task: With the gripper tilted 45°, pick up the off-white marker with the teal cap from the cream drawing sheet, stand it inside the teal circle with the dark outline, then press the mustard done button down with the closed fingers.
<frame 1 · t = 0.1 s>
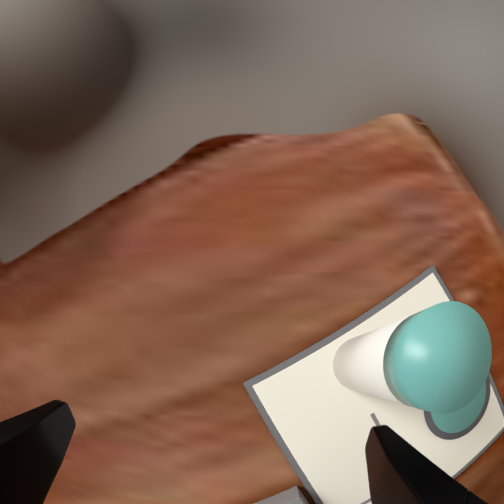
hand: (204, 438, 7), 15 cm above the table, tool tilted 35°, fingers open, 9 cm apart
marker: (358, 363, 21), resting on drawing board
drawing board: (401, 417, 19), on the table
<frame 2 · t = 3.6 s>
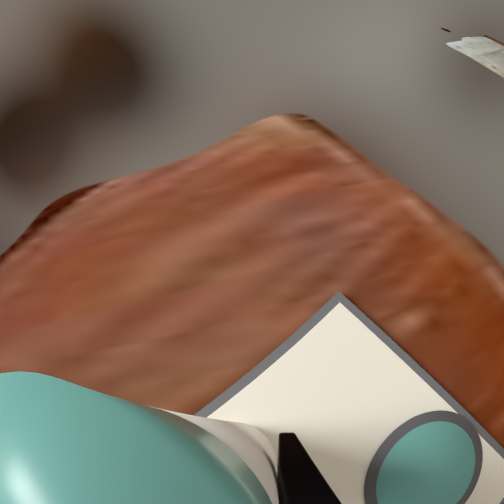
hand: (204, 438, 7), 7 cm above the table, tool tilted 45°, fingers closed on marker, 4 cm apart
marker: (233, 460, 12), point 1 cm above the table, touching drawing board, gripper
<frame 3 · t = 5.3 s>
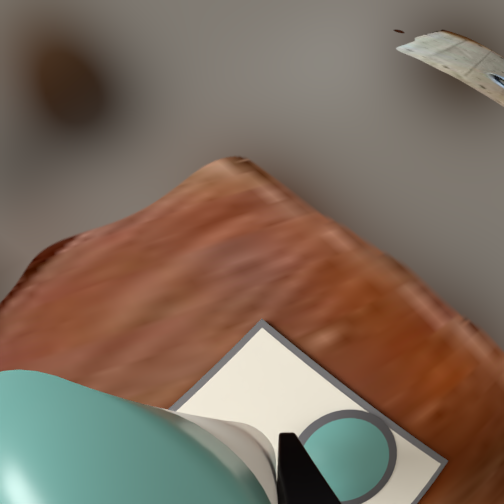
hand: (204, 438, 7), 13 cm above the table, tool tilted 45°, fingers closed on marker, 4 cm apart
marker: (232, 460, 12), point 6 cm above the table, touching gripper
drawing board: (268, 495, 15), on the table
when the fingers open (8 cm above the table, at t = 7.3 s): marker stays where it is, resting on drawing board.
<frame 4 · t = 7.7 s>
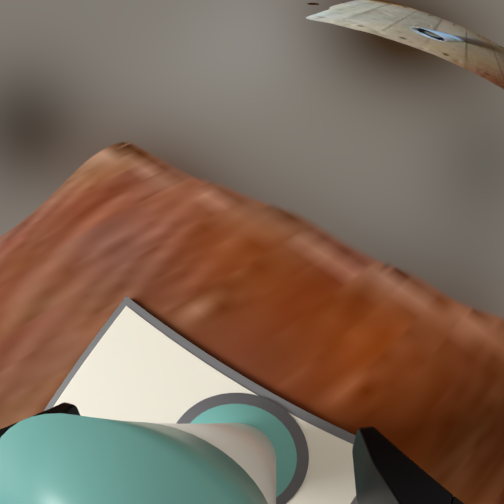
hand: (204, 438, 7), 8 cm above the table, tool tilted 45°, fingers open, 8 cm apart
marker: (235, 459, 13), point 1 cm above the table, touching drawing board
drawing board: (157, 500, 12), on the table
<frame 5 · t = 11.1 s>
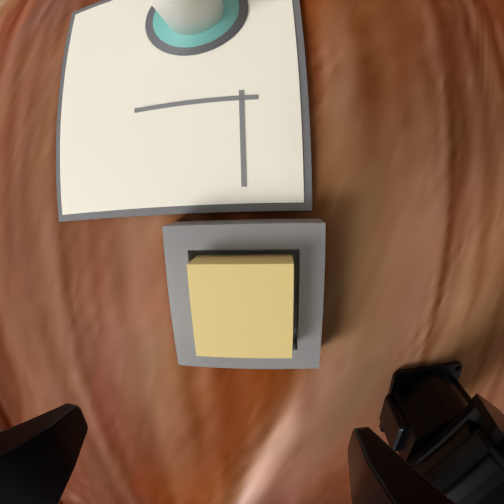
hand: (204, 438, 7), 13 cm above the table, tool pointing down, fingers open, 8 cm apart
marker: (194, 12, 15), point 1 cm above the table, touching drawing board
done button: (243, 306, 17), point 3 cm above the table, slide at 0.0 cm
button housing: (248, 289, 20), on the table
drawing board: (166, 80, 17), on the table
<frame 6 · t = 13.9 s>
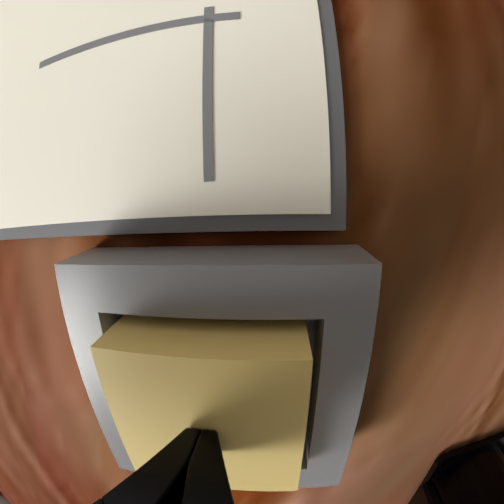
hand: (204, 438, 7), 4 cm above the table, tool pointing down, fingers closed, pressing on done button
done button: (210, 413, 8), point 3 cm above the table, slide at 0.3 cm, touching gripper
button housing: (223, 367, 11), on the table
drawing board: (91, 14, 8), on the table
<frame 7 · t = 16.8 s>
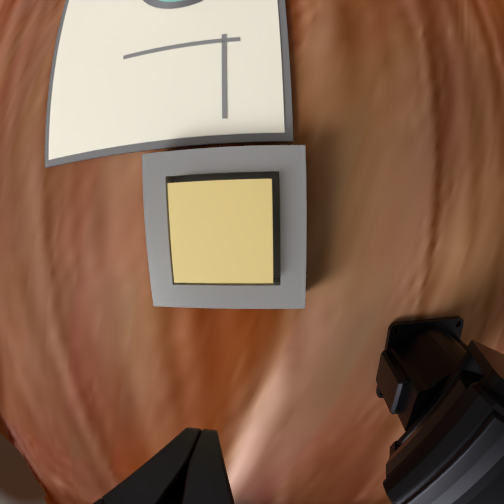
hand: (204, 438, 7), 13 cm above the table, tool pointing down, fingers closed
done button: (223, 229, 17), point 2 cm above the table, slide at 0.8 cm, touching button housing
button housing: (228, 224, 19), on the table
drawing board: (154, 31, 16), on the table
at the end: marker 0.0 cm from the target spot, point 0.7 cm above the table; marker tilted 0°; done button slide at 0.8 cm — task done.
